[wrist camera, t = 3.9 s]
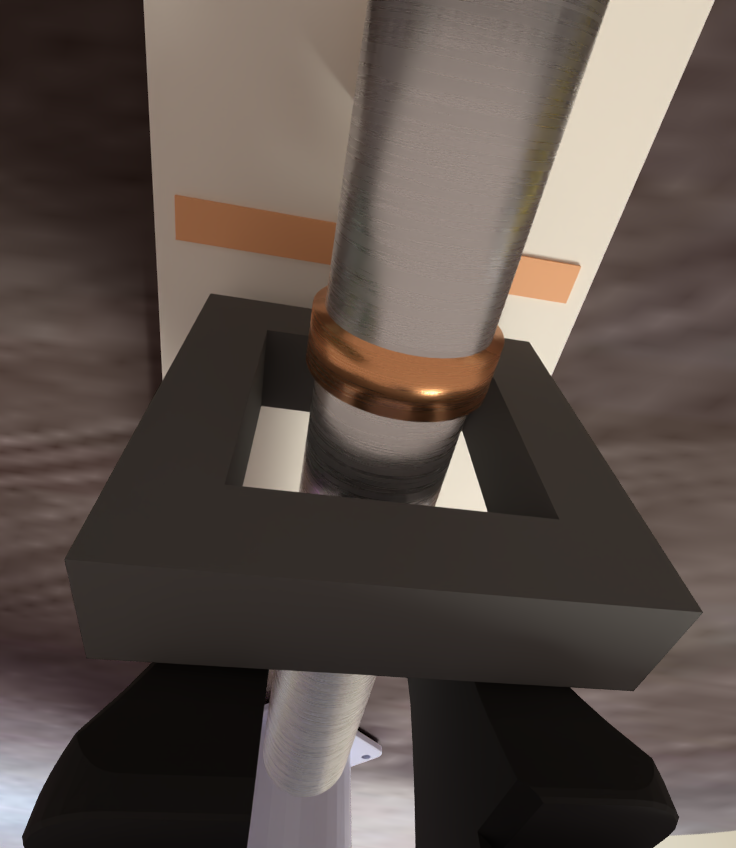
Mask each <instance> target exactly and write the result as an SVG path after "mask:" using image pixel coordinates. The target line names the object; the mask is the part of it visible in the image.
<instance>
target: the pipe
mask: <svg viewBox="0 0 736 848" xmlns="http://www.w3.org/2000/svg"><path fill="white" fill-rule="evenodd" d="M609 1H610V0H368V2H367V9H366V16H365V24H364V31H363V38H362V45H361V52H360V59H359V66H358V74H357V81H356V88H355V95H354V102H353V109H352V116H351V123H350V131H349V138H348V145H347V152H346V159H345V166H344V173H343V181H342V188H341V195H340V202H339V209H338V216H337V223H336V230H335V238H334V245H333V252H332V259H331V266H330V273H329V280H328V286H326V287H324V288H322V289H321V290H320V291H318V292H317V294H316V295H315V297H314V300H313V305H312V313H311V321H310V329H309V337H308V345H307V353H306V363H307V367H308V370H309V372H310V373H311V375H312V376H313V378H314V379H315V380H314V387H313V395H312V402H311V409H310V416H309V423H308V430H307V437H306V444H305V452H304V459H303V466H302V473H301V480H300V487H299V492H302V493H312V494H321V495H331V496H340V497H350V498H359V499H369V500H378V501H388V502H397V503H407V504H416V505H426V506H435V505H436V502H437V499H438V496H439V493H440V490H441V487H442V484H443V482H444V479H445V476H446V473H447V470H448V467H449V464H450V461H451V458H452V456H453V453H454V450H455V447H456V444H457V441H458V438H459V435H460V432H461V430H462V427H463V424H464V421H465V418H466V415H468V414H470V413H472V412H474V411H475V410H476V409H478V408H479V407H480V406H481V404H482V403H483V401H484V399H485V397H486V394H487V391H488V388H489V386H490V383H491V380H492V377H493V375H494V372H495V369H496V366H497V364H498V361H499V358H500V355H501V352H502V350H503V347H504V342H505V340H504V335H503V333H502V330H501V329H500V328H499V326H498V323H499V320H500V317H501V314H502V311H503V308H504V305H505V302H506V299H507V296H508V294H509V291H510V288H511V285H512V282H513V279H514V276H515V273H516V270H517V268H518V265H519V262H520V259H521V256H522V253H523V250H524V247H525V244H526V242H527V239H528V236H529V233H530V230H531V227H532V224H533V221H534V218H535V215H536V213H537V210H538V207H539V204H540V201H541V198H542V195H543V192H544V189H545V187H546V184H547V181H548V178H549V175H550V172H551V169H552V166H553V163H554V161H555V158H556V155H557V152H558V149H559V146H560V143H561V140H562V137H563V135H564V132H565V129H566V126H567V123H568V120H569V117H570V114H571V111H572V108H573V106H574V103H575V100H576V97H577V94H578V91H579V88H580V85H581V82H582V80H583V77H584V74H585V71H586V68H587V65H588V62H589V59H590V56H591V54H592V51H593V48H594V45H595V42H596V39H597V36H598V33H599V30H600V28H601V25H602V22H603V19H604V16H605V13H606V10H607V7H608V4H609ZM375 678H376V676H373V675H356V674H339V673H323V672H306V671H289V670H274V673H273V680H272V687H271V694H270V701H269V708H268V716H267V723H266V730H265V737H264V744H263V760H264V765H265V768H266V771H267V773H268V775H269V777H270V778H271V780H272V781H273V782H274V784H275V785H276V786H277V787H278V788H280V789H281V790H282V791H284V792H286V793H288V794H290V795H293V796H297V797H312V796H316V795H319V794H321V793H323V792H325V791H327V790H328V789H329V788H331V787H332V786H333V785H334V784H335V783H336V782H337V780H338V779H339V778H340V776H341V774H342V772H343V770H344V768H345V765H346V762H347V759H348V756H349V753H350V751H351V748H352V745H353V742H354V739H355V736H356V733H357V730H358V727H359V725H360V722H361V719H362V716H363V713H364V710H365V707H366V704H367V701H368V698H369V696H370V693H371V690H372V687H373V684H374V681H375Z"/></svg>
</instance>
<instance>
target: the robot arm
mask: <svg viewBox="0 0 736 848" xmlns="http://www.w3.org/2000/svg"><path fill="white" fill-rule="evenodd" d="M268 673H269V669H256V668H239V667H222V666H205V665H189V664H172V663H155V662H152V663H151V664H150V665H149V666H148V667H147V668H146V669H145V670H144V671H143V672H142V673H141V674H140V675H139V676H138V677H137V678H136V679H135V680H134V681H133V682H132V683H131V684H130V685H129V686H128V687H127V688H126V689H125V690H124V691H123V692H122V693H121V694H120V695H118V696H117V697H116V698H115V699H114V700H113V701H112V702H111V703H109V704H108V705H107V706H106V707H105V708H104V709H103V710H101V711H100V712H99V713H98V714H97V715H96V716H95V717H94V718H92V719H91V720H90V721H89V722H88V723H87V724H86V725H84V726H83V727H82V728H81V729H80V730H79V731H78V732H77V733H76V734H75V735H74V737H73V738H72V740H71V741H70V743H69V744H68V746H67V747H66V749H65V750H64V752H63V753H62V755H61V756H60V758H59V760H58V761H57V763H56V765H55V766H54V768H53V770H52V771H51V773H50V775H49V777H48V779H47V781H46V783H45V784H44V786H43V788H42V790H41V792H40V794H39V796H38V799H37V801H36V804H35V806H34V809H33V811H32V814H31V816H30V818H29V821H28V823H27V826H26V828H25V831H24V833H23V836H22V839H23V846H24V848H352V840H351V766H354V765H357V764H360V763H363V762H366V761H368V760H371V759H374V758H377V757H379V756H380V755H381V754H382V746H381V745H380V744H378V743H376V742H375V741H373V740H372V739H370V738H369V737H367V736H365V735H364V734H362V733H361V732H359V731H358V730H357V733H356V736H355V739H354V742H353V745H352V748H351V751H350V753H349V756H348V759H347V762H346V765H345V768H344V770H343V772H342V774H341V776H340V778H339V779H338V780H337V782H336V783H335V784H334V785H333V786H332V787H331V788H329V789H328V790H327V791H325V792H323V793H321V794H319V795H316V796H312V797H297V796H293V795H290V794H288V793H286V792H284V791H282V790H281V789H280V788H278V787H277V786H276V785H275V784H274V782H273V781H272V780H271V778H270V777H269V775H268V773H267V771H266V768H265V765H264V760H263V744H264V737H265V730H266V723H267V716H268V708H269V703H267V704H265V696H266V687H267V679H268ZM408 685H409V694H410V703H411V722H412V741H413V766H414V795H415V843H416V848H653V847H655V846H656V845H657V844H659V843H660V842H661V841H663V840H664V839H665V838H666V837H668V836H669V835H670V834H671V833H672V832H673V831H674V830H675V828H676V825H677V822H678V819H679V816H678V814H677V812H676V809H675V807H674V805H673V802H672V800H671V797H670V795H669V793H668V790H667V788H666V785H665V783H664V781H663V779H662V777H661V775H660V773H659V771H658V769H657V767H656V765H655V763H654V761H653V759H652V758H651V757H650V756H649V755H647V754H646V753H645V752H644V751H642V750H641V749H640V748H639V747H637V746H636V745H635V744H634V743H633V742H631V741H630V740H629V739H628V738H626V737H625V736H624V735H623V734H622V733H620V732H619V731H618V730H617V729H615V728H614V727H613V726H612V725H611V724H609V723H608V722H607V721H606V720H605V719H604V718H602V717H601V716H600V715H599V714H598V713H597V712H596V711H595V710H594V709H592V708H591V707H590V706H589V705H588V704H587V703H586V702H585V701H584V700H583V699H581V698H580V697H579V696H578V695H577V694H576V693H575V692H574V691H573V690H572V689H571V688H570V687H557V686H540V685H523V684H507V683H490V682H473V681H457V680H440V679H423V678H408ZM264 704H265V705H264Z"/></svg>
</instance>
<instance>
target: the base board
mask: <svg viewBox="0 0 736 848" xmlns="http://www.w3.org/2000/svg"><path fill="white" fill-rule="evenodd" d="M143 1H144V21H145V41H146V61H147V81H148V101H149V121H150V141H151V161H152V180H153V200H154V220H155V240H156V260H157V280H158V300H159V320H160V340H161V360H162V379H164V377H165V375H166V373H167V372H168V370H169V368H170V366H171V364H172V363H173V361H174V359H175V357H176V355H177V353H178V352H179V350H180V348H181V346H182V344H183V342H184V341H185V339H186V337H187V335H188V333H189V332H190V330H191V328H192V326H193V324H194V322H195V321H196V319H197V317H198V315H199V313H200V311H201V310H202V308H203V306H204V304H205V302H206V301H207V299H208V297H209V295H210V293H212V294H218V295H225V296H232V297H238V298H245V299H251V300H258V301H264V302H271V303H278V304H284V305H291V306H297V307H304V308H310V309H312V305H313V300H314V297H315V295H316V294H317V292H318V291H320V290H321V289H322V288H324V287H326V286H328V280H329V273H330V266H331V259H332V252H333V245H334V238H335V230H336V223H337V216H338V209H339V202H340V195H341V188H342V181H343V173H344V166H345V159H346V152H347V145H348V138H349V131H350V123H351V116H352V109H353V102H354V95H355V88H356V81H357V74H358V66H359V59H360V52H361V45H362V38H363V31H364V24H365V16H366V9H367V2H368V0H143ZM714 1H715V0H610V1H609V4H608V7H607V10H606V13H605V16H604V19H603V22H602V25H601V28H600V30H599V33H598V36H597V39H596V42H595V45H594V48H593V51H592V54H591V56H590V59H589V62H588V65H587V68H586V71H585V74H584V77H583V80H582V82H581V85H580V88H579V91H578V94H577V97H576V100H575V103H574V106H573V108H572V111H571V114H570V117H569V120H568V123H567V126H566V129H565V132H564V135H563V137H562V140H561V143H560V146H559V149H558V152H557V155H556V158H555V161H554V163H553V166H552V169H551V172H550V175H549V178H548V181H547V184H546V187H545V189H544V192H543V195H542V198H541V201H540V204H539V207H538V210H537V213H536V215H535V218H534V221H533V224H532V227H531V230H530V233H529V236H528V239H527V242H526V244H525V247H524V250H523V253H522V256H521V259H520V262H519V265H518V268H517V270H516V273H515V276H514V279H513V282H512V285H511V288H510V291H509V294H508V296H507V299H506V302H505V305H504V308H503V311H502V314H501V317H500V320H499V323H498V326H499V328H500V329H501V330H502V333H503V335H504V338H508V339H514V340H521V341H527V342H530V344H531V345H532V347H533V349H534V350H535V352H536V353H537V355H538V356H539V358H540V359H541V361H542V363H543V364H544V366H545V367H546V369H547V370H548V372H549V373H550V375H551V376H552V373H553V371H554V369H555V366H556V364H557V362H558V359H559V357H560V355H561V353H562V350H563V348H564V346H565V343H566V341H567V339H568V336H569V334H570V332H571V330H572V327H573V325H574V323H575V320H576V318H577V316H578V313H579V311H580V309H581V307H582V304H583V302H584V300H585V297H586V295H587V293H588V290H589V288H590V286H591V283H592V281H593V279H594V277H595V274H596V272H597V270H598V267H599V265H600V263H601V260H602V258H603V256H604V254H605V251H606V249H607V247H608V244H609V242H610V240H611V237H612V235H613V233H614V231H615V228H616V226H617V224H618V221H619V219H620V217H621V214H622V212H623V210H624V208H625V205H626V203H627V201H628V198H629V196H630V194H631V191H632V189H633V187H634V185H635V182H636V180H637V178H638V175H639V173H640V171H641V168H642V166H643V164H644V162H645V159H646V157H647V155H648V152H649V150H650V148H651V145H652V143H653V141H654V139H655V136H656V134H657V132H658V129H659V127H660V125H661V122H662V120H663V118H664V116H665V113H666V111H667V109H668V106H669V104H670V102H671V99H672V97H673V95H674V93H675V90H676V88H677V86H678V83H679V81H680V79H681V76H682V74H683V72H684V70H685V67H686V65H687V63H688V60H689V58H690V56H691V53H692V51H693V49H694V47H695V44H696V42H697V40H698V37H699V35H700V33H701V30H702V28H703V26H704V24H705V21H706V19H707V17H708V14H709V12H710V10H711V7H712V5H713V3H714ZM309 416H310V412H305V411H297V410H289V409H281V408H273V407H265V406H261V409H260V413H259V418H258V422H257V426H256V431H255V435H254V439H253V444H252V448H251V452H250V457H249V461H248V465H247V470H246V474H245V478H244V483H243V486H245V487H254V488H264V489H273V490H283V491H292V492H299V487H300V480H301V473H302V466H303V459H304V452H305V444H306V437H307V430H308V423H309ZM435 507H445V508H454V509H464V510H473V511H483V512H487V508H486V505H485V502H484V499H483V496H482V492H481V489H480V486H479V483H478V480H477V477H476V473H475V470H474V467H473V464H472V461H471V457H470V454H469V451H468V448H467V445H466V442H465V438H464V435H463V432H462V431H461V432H460V435H459V438H458V441H457V444H456V447H455V450H454V453H453V456H452V458H451V461H450V464H449V467H448V470H447V473H446V476H445V479H444V482H443V484H442V487H441V490H440V493H439V496H438V499H437V502H436V505H435Z"/></svg>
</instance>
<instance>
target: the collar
mask: <svg viewBox="0 0 736 848" xmlns="http://www.w3.org/2000/svg"><path fill="white" fill-rule="evenodd" d="M311 313H312V309H310V308H304V307H297V306H291V305H284V304H278V303H271V302H264V301H258V300H251V299H245V298H238V297H232V296H225V295H218V294H212V293H210V295H209V297H208V299H207V301H206V302H205V304H204V306H203V308H202V310H201V311H200V313H199V315H198V317H197V319H196V321H195V322H194V324H193V326H192V328H191V330H190V332H189V333H188V335H187V337H186V339H185V341H184V342H183V344H182V346H181V348H180V350H179V352H178V353H177V355H176V357H175V359H174V361H173V363H172V364H171V366H170V368H169V370H168V372H167V373H166V375H165V377H164V379H163V381H162V383H161V384H160V386H159V388H158V390H157V392H156V393H155V395H154V397H153V399H152V401H151V403H150V404H149V406H148V408H147V410H146V412H145V414H144V415H143V417H142V419H141V421H140V423H139V424H138V426H137V428H136V430H135V432H134V434H133V435H132V437H131V439H130V441H129V443H128V445H127V446H126V448H125V450H124V452H123V454H122V455H121V457H120V459H119V461H118V463H117V465H116V466H115V468H114V470H113V472H112V474H111V475H110V477H109V479H108V481H107V483H106V485H105V486H104V488H103V490H102V492H101V494H100V496H99V497H98V499H97V501H96V503H95V505H94V506H93V508H92V510H91V512H90V514H89V516H88V517H87V519H86V521H85V523H84V525H83V527H82V528H81V530H80V532H79V534H78V536H77V537H76V539H75V541H74V543H73V545H72V547H71V548H70V550H69V552H68V554H67V556H66V557H65V559H64V560H65V565H66V569H67V573H68V578H69V582H70V587H71V591H72V596H73V600H74V605H75V609H76V614H77V618H78V623H79V627H80V632H81V636H82V641H83V645H84V650H85V654H86V658H88V659H105V660H122V661H139V662H155V663H172V664H189V665H205V666H222V667H239V668H256V669H272V670H289V671H306V672H323V673H339V674H356V675H373V676H390V677H406V678H423V679H440V680H457V681H473V682H490V683H507V684H523V685H540V686H557V687H574V688H590V689H607V690H624V691H634V690H635V689H636V688H637V687H638V685H639V684H640V683H641V682H642V681H643V680H644V679H645V678H646V676H647V675H648V674H649V673H650V672H651V671H652V670H653V669H654V667H655V666H656V665H657V664H658V663H659V662H660V661H661V659H662V658H663V657H664V656H665V655H666V654H667V653H668V652H669V650H670V649H671V648H672V647H673V646H674V645H675V644H676V643H677V641H678V640H679V639H680V638H681V637H682V636H683V635H684V633H685V632H686V631H687V630H688V629H689V628H690V627H691V626H692V624H693V623H694V622H695V621H696V620H697V619H698V618H699V617H700V615H701V614H702V613H703V612H702V610H701V609H700V607H699V606H698V604H697V602H696V601H695V599H694V598H693V596H692V595H691V593H690V592H689V590H688V588H687V587H686V585H685V584H684V582H683V581H682V579H681V578H680V576H679V574H678V573H677V571H676V570H675V568H674V567H673V565H672V564H671V562H670V560H669V559H668V557H667V556H666V554H665V553H664V551H663V550H662V548H661V546H660V545H659V543H658V542H657V540H656V539H655V537H654V535H653V534H652V532H651V531H650V529H649V528H648V526H647V525H646V523H645V521H644V520H643V518H642V517H641V515H640V514H639V512H638V511H637V509H636V507H635V506H634V504H633V503H632V501H631V500H630V498H629V497H628V495H627V493H626V492H625V490H624V489H623V487H622V486H621V484H620V483H619V481H618V479H617V478H616V476H615V475H614V473H613V472H612V470H611V469H610V467H609V465H608V464H607V462H606V461H605V459H604V458H603V456H602V454H601V453H600V451H599V450H598V448H597V447H596V445H595V444H594V442H593V440H592V439H591V437H590V436H589V434H588V433H587V431H586V430H585V428H584V426H583V425H582V423H581V422H580V420H579V419H578V417H577V416H576V414H575V412H574V411H573V409H572V408H571V406H570V405H569V403H568V402H567V400H566V398H565V397H564V395H563V394H562V392H561V391H560V389H559V388H558V386H557V384H556V383H555V381H554V380H553V378H552V377H551V375H550V373H549V372H548V370H547V369H546V367H545V366H544V364H543V363H542V361H541V359H540V358H539V356H538V355H537V353H536V352H535V350H534V349H533V347H532V345H531V344H530V342H527V341H521V340H514V339H508V338H504V340H505V342H504V347H503V350H502V352H501V355H500V358H499V361H498V364H497V366H496V369H495V372H494V375H493V377H492V380H491V383H490V386H489V388H488V391H487V394H486V397H485V399H484V401H483V403H482V404H481V406H480V407H479V408H478V409H476V410H475V411H474V412H472V413H470V414H468V415H466V418H465V421H464V424H463V427H462V430H461V431H462V432H463V435H464V438H465V442H466V445H467V448H468V451H469V454H470V457H471V461H472V464H473V467H474V470H475V473H476V477H477V480H478V483H479V486H480V489H481V492H482V496H483V499H484V502H485V505H486V508H487V512H483V511H473V510H464V509H454V508H445V507H435V506H426V505H416V504H407V503H397V502H388V501H378V500H369V499H359V498H350V497H340V496H331V495H321V494H312V493H302V492H292V491H283V490H273V489H264V488H254V487H245V486H243V483H244V478H245V474H246V470H247V465H248V461H249V457H250V452H251V448H252V444H253V439H254V435H255V431H256V426H257V422H258V418H259V413H260V409H261V406H265V407H273V408H281V409H289V410H297V411H305V412H310V409H311V402H312V395H313V387H314V380H315V379H314V378H313V376H312V375H311V373H310V372H309V370H308V367H307V363H306V353H307V345H308V337H309V329H310V321H311Z"/></svg>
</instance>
